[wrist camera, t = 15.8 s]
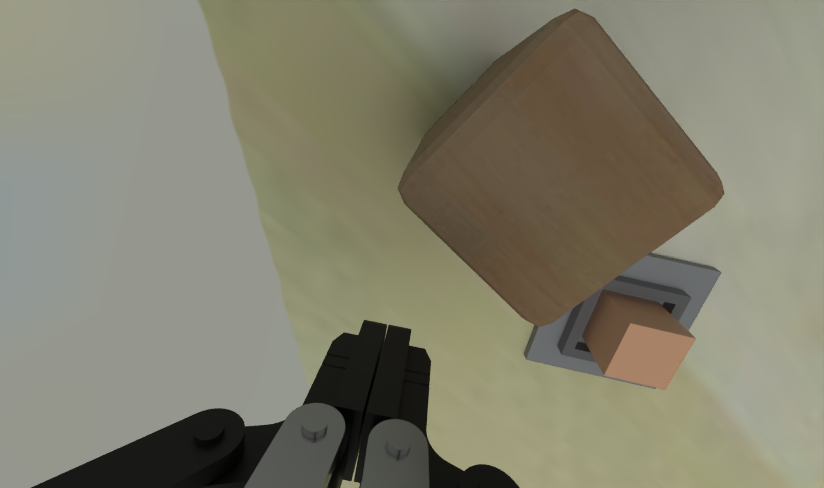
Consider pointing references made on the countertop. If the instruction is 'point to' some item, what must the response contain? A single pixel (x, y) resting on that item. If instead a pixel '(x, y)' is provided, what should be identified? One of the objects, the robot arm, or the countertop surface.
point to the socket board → (648, 279)
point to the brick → (636, 339)
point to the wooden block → (557, 171)
